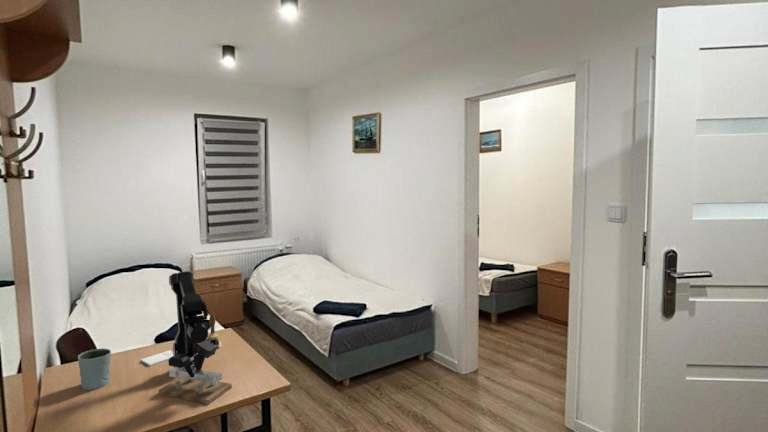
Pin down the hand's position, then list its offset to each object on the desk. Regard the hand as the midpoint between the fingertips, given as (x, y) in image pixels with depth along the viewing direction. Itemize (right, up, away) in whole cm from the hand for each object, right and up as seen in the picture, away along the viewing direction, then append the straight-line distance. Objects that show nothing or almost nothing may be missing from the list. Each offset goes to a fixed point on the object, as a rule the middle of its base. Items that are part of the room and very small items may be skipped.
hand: (195, 375), depth 152 cm
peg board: (0, -6, 0) cm, 6 cm away
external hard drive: (-27, -4, +27) cm, 39 cm away
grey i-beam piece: (0, -1, 0) cm, 1 cm away
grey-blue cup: (-40, -6, +5) cm, 40 cm away
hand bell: (-10, -3, +40) cm, 42 cm away
